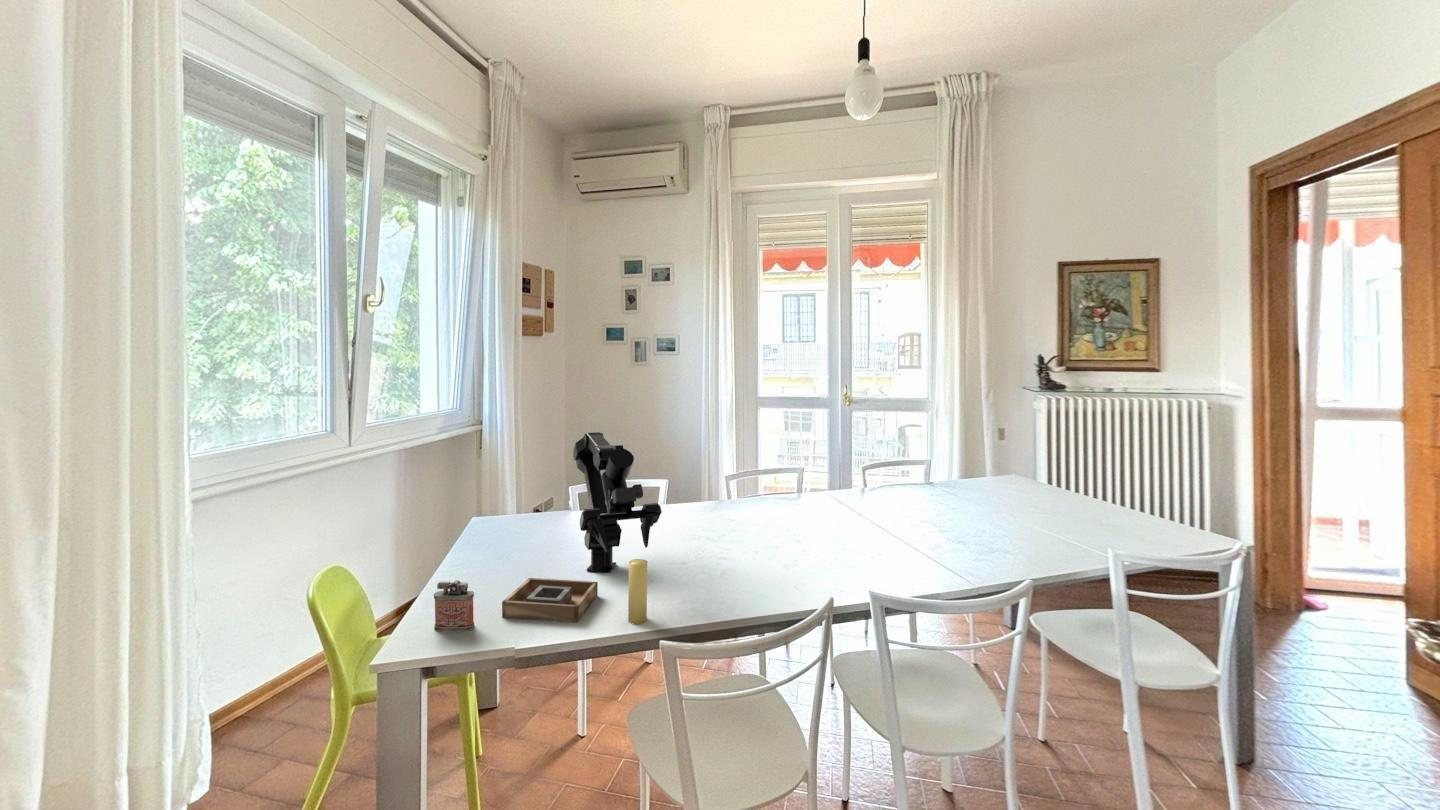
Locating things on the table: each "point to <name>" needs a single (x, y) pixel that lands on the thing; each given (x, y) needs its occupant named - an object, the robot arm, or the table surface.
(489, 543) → the table surface
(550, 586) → the walled box
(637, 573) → the plug
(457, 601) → the lighter
